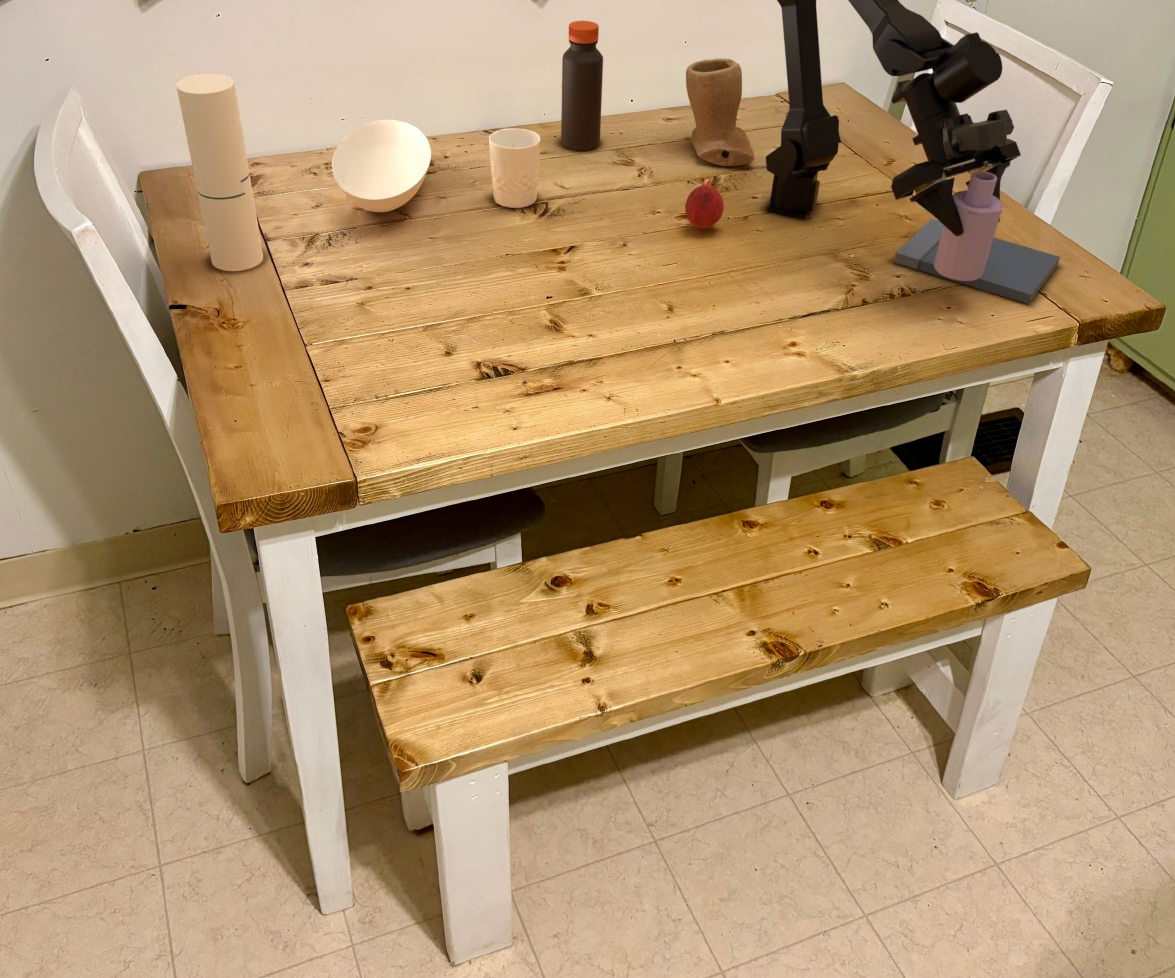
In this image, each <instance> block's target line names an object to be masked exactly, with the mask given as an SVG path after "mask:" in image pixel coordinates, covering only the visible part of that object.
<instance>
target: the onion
mask: <svg viewBox="0 0 1175 978" xmlns="http://www.w3.org/2000/svg"><path fill="white" fill-rule="evenodd" d="M712 182H713V181H712V180H711V179H709V178H707V179H704V181H703V182H702V184H701V185H699V186H697V187H695V188H694V189H693V190H692V191H691V192H690V193H689V195H688V196H687V199H686V201H685V205H684V213H685V215H686V217H687V220H688V221H689V222H690V224H691V225H692V226H693V227H695V228H697V229H698V230H700V231H705V230H706V229H709V228H711V227H712V226H714V225H715V224H716V223H718V222H719V221H720V220H721V218H722V216H723V213H724V208H725V207H724V206H725V205H724V204H725V203H724V199H723V197H722V194H721V193H720V191H719V190H718V189H717V188H716V187H715V186H713V185H712Z"/></svg>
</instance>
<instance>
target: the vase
mask: <svg viewBox="0 0 1175 978" xmlns="http://www.w3.org/2000/svg"><path fill="white" fill-rule="evenodd" d="M969 180H970V182H969V185H968V186H967V188H966V189H965V190H959V191H956V192H954V193H952V195H953V198H954V201H955V204H956V207H957V210H958V214H959V217H960V220H961V223H962V228H963V234H962V235H960V236H955V235H954V234H953V233H952V232H951V231H950V230H949V229H948V228H946V227H945V226H944V227H943V231H942V235H941V239H940V242H939V246H938V250H937V254H936V258H935V261H934V268H935V270H936V271H937V272H938V273H940V274H941V275H943V276H945V277H947V278H950V279H954V280H960V281H972V280H976V279H979V278H980V277H981V276H982V275H983V272H984V269H985V266H986V262H987V259H988V256H989V252H990V249H991V246H992V242H993V239H994V238H995V235H996V232H997V229H998V225H999V223H1000V222H999V219H1000V220H1001V215H1002V212H1003V209H1004V203H1003V202H1002V200H1001V198H1000V199H998V198H997V197H995V196H993V191H994V188H995V184H996V181H997V177H996V176H995V175H994V174H992V173H989V172H985V171H976V172H973V173H972V175H971V174H970V178H969ZM998 222H999V223H998Z"/></svg>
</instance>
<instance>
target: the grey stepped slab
mask: <svg viewBox="0 0 1175 978" xmlns="http://www.w3.org/2000/svg"><path fill="white" fill-rule="evenodd" d="M943 227H944V225H943V224H942V223H941V222H940V221H939V220H938V219H934V218H930V220H928V221H927V222H926V223H925V224H924V225H923V226H922V227H921V228H920V229H919V230H918V231H917V232H916V233H915V234H914V235H913V236H912V237H911V238H910V239H909V240H908V241H907V242H906V243H905V244H904V245H903V246H902V247H901V248H900V249H899V250H898V251H897V252H896V253H895V258H894V263H895V264H897V265H900V266H903V267H907V268H911V269H913V270H915V271H916V270H917V271H920V272H923V273H927V274H930V275H933V276H935V277H939V278H943V279H946V280H949V281H952V282H955V283H959V284H961V285H965V286H968V287H971V288H975V289H977V290H980V291H984V292H988V293H990V294H994V295H997V296H1000V297H1003V298H1007V299H1009V300H1013V301H1016V302H1019V303H1022V304H1026V305H1030V303H1031V302H1032V300H1033V299H1034V297H1035V296H1036V295H1037V294H1038V292H1039V291H1040V290H1041V288H1042V287H1043V286H1044V284H1045V283H1046V282H1047V281H1048V279H1049V278H1050V276H1051V275H1052V274H1053V273H1054V271H1055V270H1056V269H1057V267H1058V265H1059V262H1060V259H1061V256H1059V255H1056V254H1052V253H1049V252H1044V251H1042V250H1038V249H1035V248H1031V247H1028V246H1025V245H1021V244H1018V243H1014V242H1011V241H1007V240H1005V239H1000V238H997V237H994V239H993V242H992V246H991V249H990V252H989V256H988V259H987V262H986V266H985V269H984V272H983V275H982V276H981V277H980V278H979V279H976V280H972V281H960V280H954V279H950V278H947V277H945V276H943V275H941V274H940V273H938V272H937V271H936V270H935V268H934V261H935V258H936V254H937V250H938V246H939V242H940V239H941V235H942V231H943Z"/></svg>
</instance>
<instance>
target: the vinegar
mask: <svg viewBox="0 0 1175 978" xmlns="http://www.w3.org/2000/svg"><path fill="white" fill-rule="evenodd" d="M599 29H600V26H599V24H598V23H596V22H594V21H591V20H575V21H572V22H570V23H569V24H568V43H569V45H570V47H568V48H567V50H565V52H564V53H563V55H562V62H561V64H562V65H561V66H562V67H561V117H560V118H561V122H560V129H561V130H560V142H561V144H562V146H563V147H565V148H567V149H569V150H573V151H584V152H585V151H591V150H594V149H596V148H597V147H598V146H599V145H600V143H601V124H602V103H603V102H602V100H603V99H602V97H603V77H604V76H603V75H604V73H603V72H604V56H603V54H602V53H601V51H600V50H599V49H598V48H597V44H598V43H599V35H600V33H599V31H600V30H599Z"/></svg>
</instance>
